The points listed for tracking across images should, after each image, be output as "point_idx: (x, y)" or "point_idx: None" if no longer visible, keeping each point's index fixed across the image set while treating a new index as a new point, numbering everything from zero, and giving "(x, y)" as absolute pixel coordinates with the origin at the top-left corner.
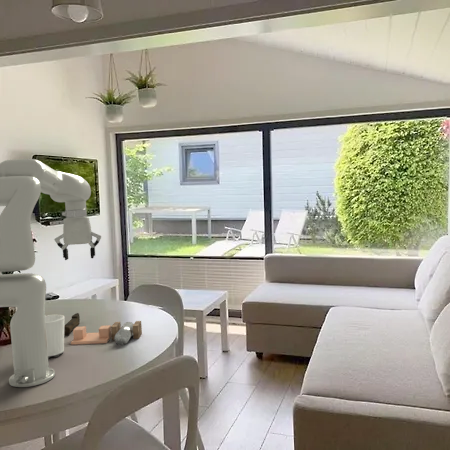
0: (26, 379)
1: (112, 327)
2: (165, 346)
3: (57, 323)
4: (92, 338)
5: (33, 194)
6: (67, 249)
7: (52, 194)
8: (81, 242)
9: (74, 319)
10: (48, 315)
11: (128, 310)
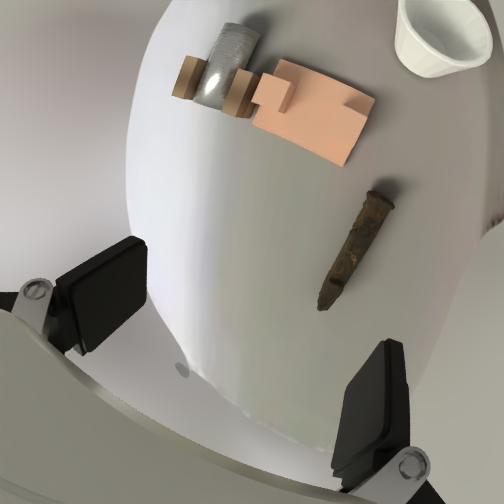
0: None
1: (250, 72)
2: (171, 4)
3: None
4: (314, 93)
5: None
6: (337, 463)
7: None
8: (56, 381)
9: (339, 268)
10: (456, 60)
11: (197, 312)
